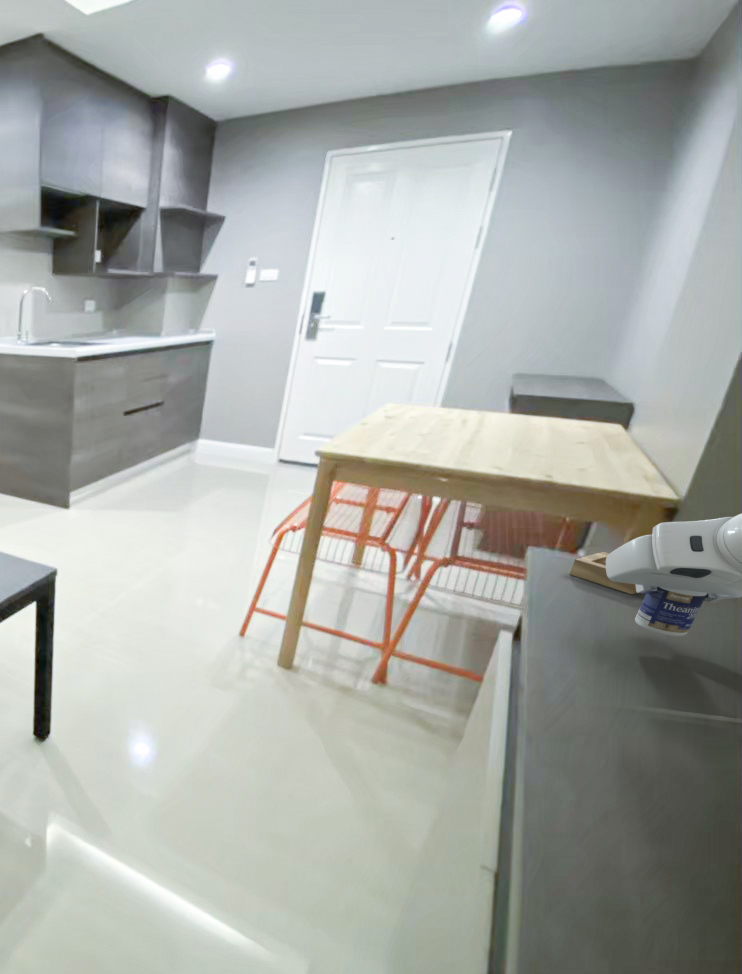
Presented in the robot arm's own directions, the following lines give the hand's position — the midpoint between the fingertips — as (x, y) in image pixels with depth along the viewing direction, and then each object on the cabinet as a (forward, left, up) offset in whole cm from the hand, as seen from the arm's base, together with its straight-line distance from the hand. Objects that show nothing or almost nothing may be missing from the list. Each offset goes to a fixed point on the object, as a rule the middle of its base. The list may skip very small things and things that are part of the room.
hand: (672, 592), depth 85 cm
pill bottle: (0, +1, -6) cm, 6 cm away
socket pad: (-6, -25, -8) cm, 27 cm away
